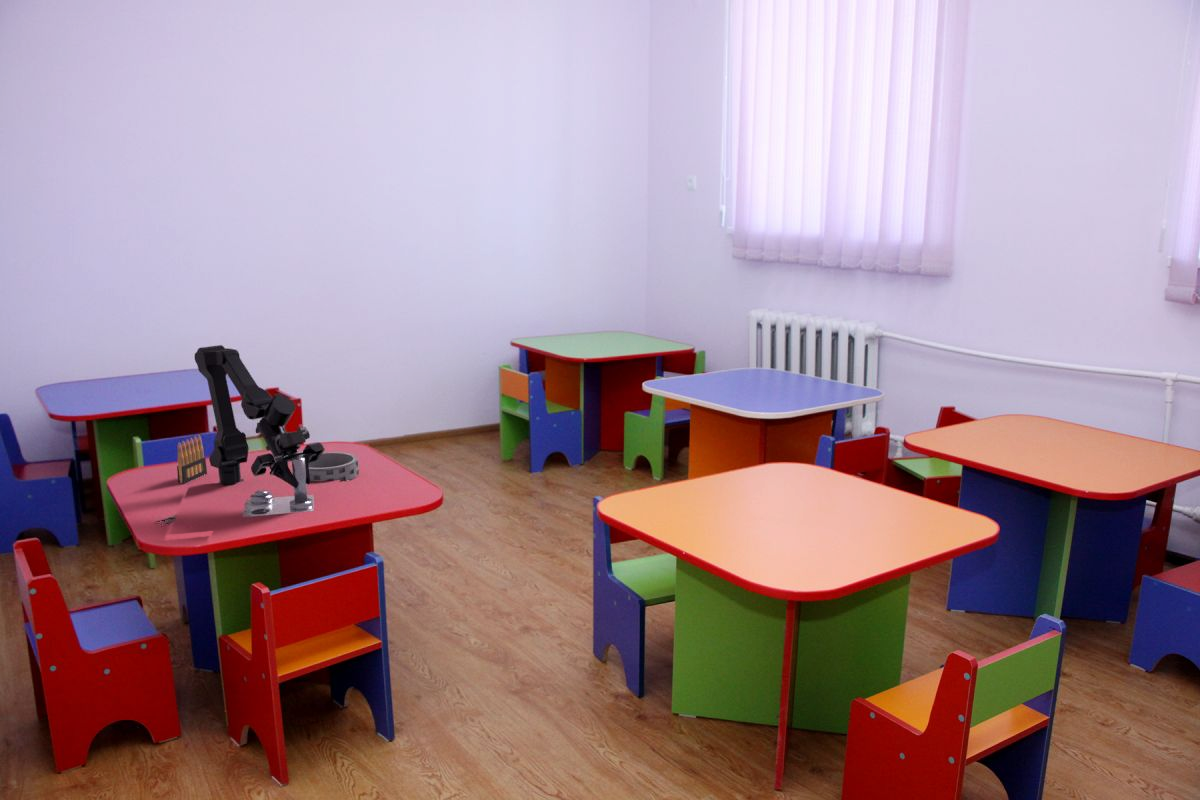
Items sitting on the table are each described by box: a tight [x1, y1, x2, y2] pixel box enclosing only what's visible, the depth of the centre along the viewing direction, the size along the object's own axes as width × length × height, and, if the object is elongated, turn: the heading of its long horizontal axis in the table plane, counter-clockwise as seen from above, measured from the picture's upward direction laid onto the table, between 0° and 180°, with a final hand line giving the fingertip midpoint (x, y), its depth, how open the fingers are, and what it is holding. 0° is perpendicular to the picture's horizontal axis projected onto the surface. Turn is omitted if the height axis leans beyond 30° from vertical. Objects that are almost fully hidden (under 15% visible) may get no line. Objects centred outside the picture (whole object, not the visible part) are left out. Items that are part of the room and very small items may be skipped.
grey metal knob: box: [250, 489, 274, 504], centre depth 248 cm, size 6×6×2 cm
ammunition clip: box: [176, 434, 208, 485], centre depth 271 cm, size 11×2×12 cm, turn 167°
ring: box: [309, 451, 360, 483], centre depth 274 cm, size 18×18×5 cm
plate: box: [242, 494, 315, 518], centre depth 245 cm, size 14×17×1 cm
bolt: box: [290, 457, 313, 510], centre depth 242 cm, size 6×6×13 cm
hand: (303, 485), depth 241 cm, fingers open, 3 cm apart
